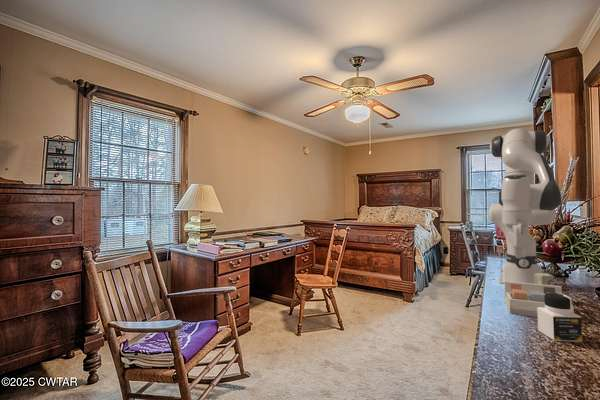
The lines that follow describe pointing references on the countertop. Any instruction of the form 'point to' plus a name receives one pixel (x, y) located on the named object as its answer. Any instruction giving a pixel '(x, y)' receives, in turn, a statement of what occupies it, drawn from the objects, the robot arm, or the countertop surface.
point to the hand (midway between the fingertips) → (518, 257)
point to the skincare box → (544, 279)
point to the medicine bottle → (559, 319)
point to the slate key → (536, 296)
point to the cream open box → (523, 305)
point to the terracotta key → (519, 294)
